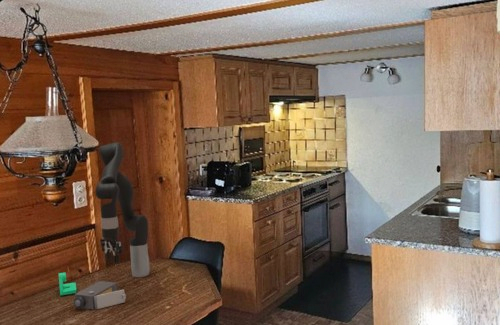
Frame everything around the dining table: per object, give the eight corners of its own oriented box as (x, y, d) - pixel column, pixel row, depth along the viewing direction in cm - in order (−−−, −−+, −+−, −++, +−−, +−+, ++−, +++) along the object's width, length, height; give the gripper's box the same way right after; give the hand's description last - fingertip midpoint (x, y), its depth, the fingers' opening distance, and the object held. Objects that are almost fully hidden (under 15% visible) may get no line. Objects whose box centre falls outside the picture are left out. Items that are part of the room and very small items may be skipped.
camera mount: (76, 294, 245) (75, 274, 244) (60, 297, 242) (58, 277, 241) (75, 287, 256) (74, 267, 255) (60, 289, 253) (58, 270, 252)
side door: (124, 301, 233) (123, 289, 232) (126, 302, 231) (125, 290, 230) (94, 309, 225) (93, 296, 224) (96, 310, 223) (95, 297, 222)
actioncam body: (100, 293, 244) (99, 279, 244) (118, 295, 241) (117, 281, 240) (71, 310, 225) (70, 294, 225) (90, 312, 222) (88, 296, 221)
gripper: (93, 226, 231) (96, 261, 232) (112, 230, 222) (115, 266, 223) (107, 223, 236) (109, 257, 238) (126, 226, 228) (128, 262, 229)
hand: (112, 261), depth 231 cm, fingers open, 5 cm apart
